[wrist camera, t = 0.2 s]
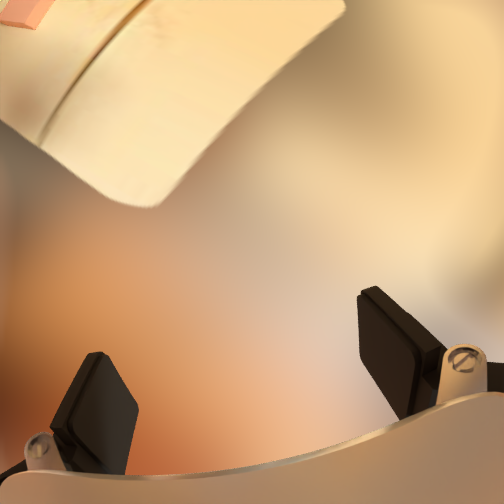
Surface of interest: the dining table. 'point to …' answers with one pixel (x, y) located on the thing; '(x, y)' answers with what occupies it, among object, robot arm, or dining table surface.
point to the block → (25, 13)
